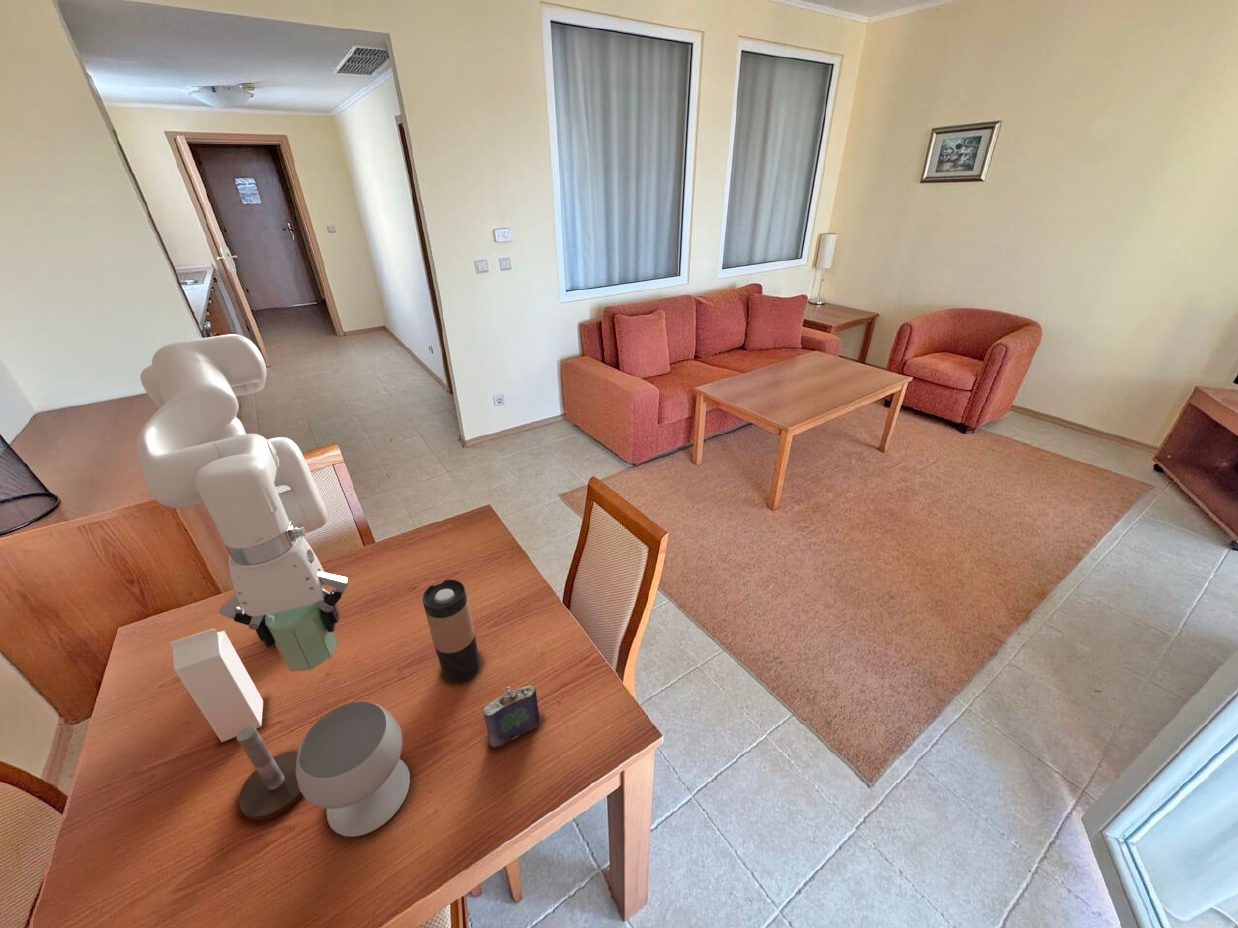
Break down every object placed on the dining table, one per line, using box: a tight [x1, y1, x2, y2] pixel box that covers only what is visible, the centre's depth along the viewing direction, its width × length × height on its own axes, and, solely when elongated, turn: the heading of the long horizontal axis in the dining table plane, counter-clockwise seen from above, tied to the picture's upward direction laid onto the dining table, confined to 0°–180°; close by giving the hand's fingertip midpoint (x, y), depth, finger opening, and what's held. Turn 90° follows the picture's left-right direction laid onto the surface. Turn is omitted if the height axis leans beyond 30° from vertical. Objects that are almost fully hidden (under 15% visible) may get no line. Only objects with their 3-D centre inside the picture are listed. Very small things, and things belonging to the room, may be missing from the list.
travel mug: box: [422, 579, 480, 683], centre depth 95 cm, size 8×8×20 cm
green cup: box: [265, 604, 339, 672], centre depth 76 cm, size 7×7×9 cm
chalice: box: [296, 701, 411, 838], centre depth 75 cm, size 14×14×15 cm
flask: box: [482, 685, 541, 748], centre depth 85 cm, size 9×3×11 cm, turn 121°
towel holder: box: [236, 726, 304, 821], centre depth 77 cm, size 10×10×14 cm
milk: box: [169, 628, 264, 743], centre depth 85 cm, size 6×6×22 cm
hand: (302, 632), depth 76 cm, fingers closed on green cup, 7 cm apart
